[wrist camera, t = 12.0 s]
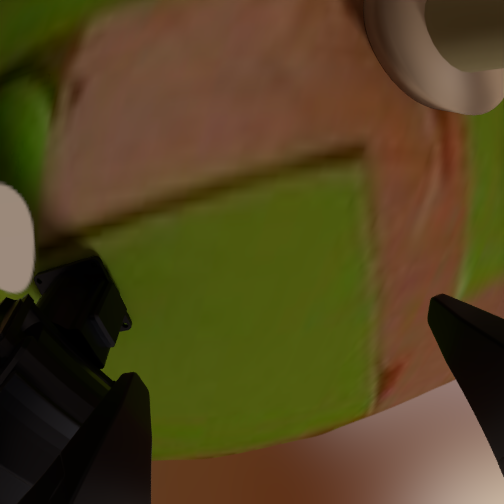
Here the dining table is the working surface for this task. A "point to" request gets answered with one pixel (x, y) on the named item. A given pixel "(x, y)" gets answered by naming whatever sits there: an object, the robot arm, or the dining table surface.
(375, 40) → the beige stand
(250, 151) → the dining table surface
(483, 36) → the cork
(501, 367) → the robot arm
